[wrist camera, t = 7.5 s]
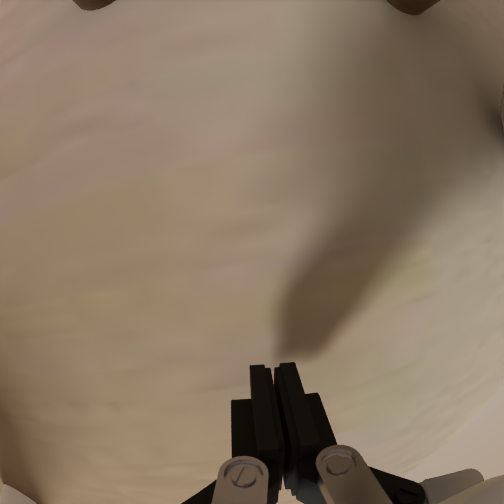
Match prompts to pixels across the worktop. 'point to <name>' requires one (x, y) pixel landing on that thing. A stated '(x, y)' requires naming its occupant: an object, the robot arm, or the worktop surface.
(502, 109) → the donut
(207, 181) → the worktop surface
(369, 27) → the worktop surface
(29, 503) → the cylindrical container
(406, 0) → the post
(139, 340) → the worktop surface
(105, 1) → the post
